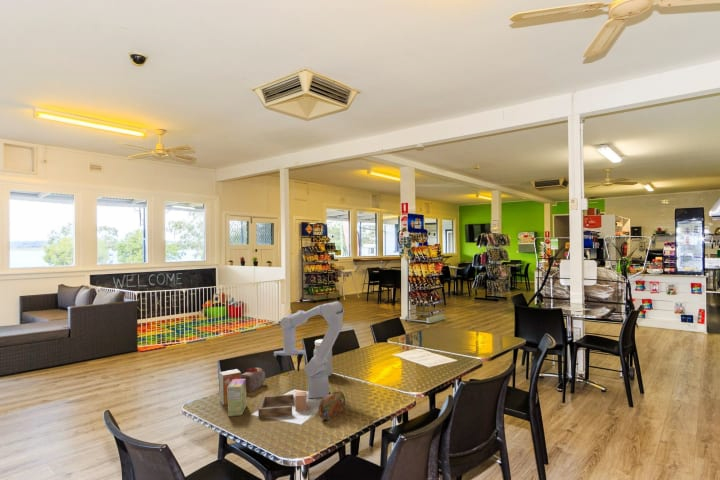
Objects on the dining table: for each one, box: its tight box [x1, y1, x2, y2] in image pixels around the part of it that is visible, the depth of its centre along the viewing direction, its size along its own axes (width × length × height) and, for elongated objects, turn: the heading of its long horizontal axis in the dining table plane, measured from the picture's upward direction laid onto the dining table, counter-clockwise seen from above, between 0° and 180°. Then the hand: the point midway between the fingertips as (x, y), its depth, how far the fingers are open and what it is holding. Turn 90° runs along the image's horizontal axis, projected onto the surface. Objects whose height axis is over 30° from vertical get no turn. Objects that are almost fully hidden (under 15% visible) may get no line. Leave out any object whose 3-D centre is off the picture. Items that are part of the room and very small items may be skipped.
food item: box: [241, 367, 266, 394], centre depth 200 cm, size 14×8×10 cm, turn 164°
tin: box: [318, 390, 346, 421], centre depth 165 cm, size 15×3×8 cm, turn 148°
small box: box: [218, 368, 242, 406], centre depth 184 cm, size 8×6×13 cm
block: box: [294, 391, 308, 411], centre depth 173 cm, size 4×4×6 cm
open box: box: [257, 393, 295, 419], centre depth 172 cm, size 13×14×4 cm
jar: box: [313, 338, 334, 377], centre depth 217 cm, size 10×10×18 cm
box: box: [227, 379, 247, 417], centre depth 172 cm, size 10×6×12 cm, turn 5°
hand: (290, 370), depth 195 cm, fingers open, 7 cm apart
